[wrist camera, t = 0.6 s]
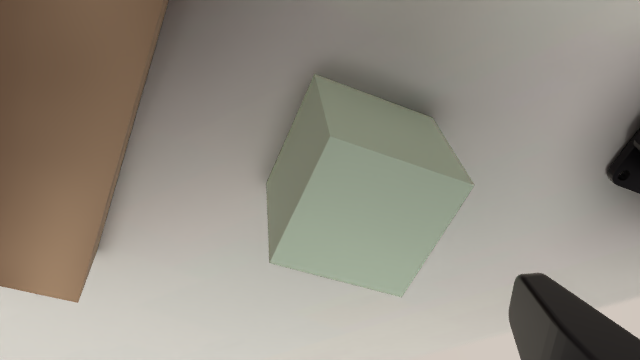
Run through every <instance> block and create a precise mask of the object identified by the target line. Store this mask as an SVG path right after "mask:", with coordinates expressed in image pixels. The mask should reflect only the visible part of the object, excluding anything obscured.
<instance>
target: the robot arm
mask: <svg viewBox="0 0 640 360" xmlns="http://www.w3.org/2000/svg"><path fill="white" fill-rule="evenodd" d="M622 171H624V172H623V173H622V174H621V175H619V174H620V173H621V172H622ZM607 175H608V178H609V179H610V180H611V181H612V182H613V183H614V184H616V185H618V186H621V187H623V188H626V189H629V190H631V191H634V192H637V193H639V194H640V129H639V130H638V131H637V133H636V134H635V135H634V137H633V138H632V139H631V141H630V142H629V143H628V144H627V146H626V147H625V148H624V150H623V151H622V152H621V153H620V155H619V156H618V157H617V159H616V160H615V161H614V162H613V164H612V165H611V166H610V168H609V170H608V173H607ZM509 322H510V326H511V329H512V332H513V335H514V339H515V342H516V345H517V348H518V351H519V355H520V358H521V360H640V339H638V338H637V337H635V336H634V335H632V334H631V333H630V332H628V331H627V330H625V329H624V328H622V327H621V326H619V325H618V324H616V323H615V322H613V321H612V320H611V319H609V318H608V317H606V316H605V315H603V314H602V313H600V312H599V311H597V310H596V309H594V308H593V307H592V306H590V305H589V304H587V303H586V302H584V301H583V300H581V299H580V298H578V297H577V296H576V295H574V294H573V293H571V292H570V291H568V290H567V289H565V288H564V287H562V286H561V285H559V284H558V283H557V282H555V281H554V280H552V279H551V278H549V277H548V276H546V275H544V274H542V273H531V274H521V275H518V276H517V277H516V279H515V282H514V287H513V292H512V297H511V301H510V306H509Z"/></svg>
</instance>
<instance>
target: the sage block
mask: <svg viewBox="0 0 640 360" xmlns="http://www.w3.org/2000/svg"><path fill="white" fill-rule="evenodd" d="M473 187H474V184H473V182H472V180H471V179H470V177H469V176H468V174H467V172H466V171H465V169H464V168H463V166H462V164H461V163H460V161H459V160H458V158H457V156H456V155H455V153H454V152H453V150H452V148H451V147H450V145H449V144H448V142H447V140H446V139H445V137H444V136H443V134H442V132H441V131H440V129H439V128H438V126H437V124H436V123H435V121H434V120H433V118H432V117H429V116H427V115H424V114H421V113H419V112H416V111H413V110H411V109H408V108H405V107H402V106H400V105H397V104H394V103H392V102H389V101H386V100H384V99H381V98H378V97H376V96H373V95H370V94H367V93H365V92H362V91H359V90H357V89H354V88H351V87H349V86H346V85H343V84H340V83H338V82H335V81H332V80H330V79H327V78H324V77H322V76H319V75H316V74H314V76H313V78H312V80H311V83H310V85H309V87H308V90H307V92H306V94H305V96H304V99H303V101H302V103H301V106H300V108H299V110H298V112H297V115H296V117H295V119H294V121H293V124H292V126H291V128H290V131H289V133H288V135H287V137H286V140H285V142H284V144H283V147H282V149H281V151H280V153H279V156H278V158H277V160H276V163H275V165H274V167H273V169H272V172H271V174H270V176H269V178H268V181H267V183H266V190H267V215H268V240H269V263H271V264H275V265H279V266H282V267H286V268H290V269H294V270H298V271H302V272H306V273H310V274H313V275H317V276H321V277H325V278H329V279H333V280H337V281H341V282H344V283H348V284H352V285H356V286H360V287H364V288H368V289H372V290H375V291H379V292H383V293H387V294H391V295H395V296H399V297H402V296H403V294H404V293H405V291H406V290H407V288H408V287H409V285H410V284H411V282H412V281H413V279H414V278H415V276H416V274H417V273H418V271H419V270H420V268H421V267H422V265H423V264H424V262H425V261H426V259H427V258H428V256H429V255H430V253H431V251H432V250H433V248H434V247H435V245H436V244H437V242H438V241H439V239H440V238H441V236H442V235H443V233H444V231H445V230H446V228H447V227H448V225H449V224H450V222H451V221H452V219H453V218H454V216H455V215H456V213H457V211H458V210H459V208H460V207H461V205H462V204H463V202H464V201H465V199H466V198H467V196H468V195H469V193H470V192H471V190H472V188H473Z"/></svg>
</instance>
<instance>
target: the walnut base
mask: <svg viewBox="0 0 640 360" xmlns="http://www.w3.org/2000/svg"><path fill="white" fill-rule="evenodd" d="M168 1H169V0H0V286H2V287H7V288H12V289H16V290H21V291H26V292H30V293H35V294H40V295H45V296H49V297H54V298H59V299H63V300H68V301H73V302H77V303H78V301H79V298H80V296H81V293H82V290H83V288H84V285H85V282H86V279H87V277H88V274H89V271H90V269H91V266H92V263H93V260H94V258H95V255H96V252H97V249H98V245H99V242H100V238H101V235H102V231H103V228H104V224H105V221H106V218H107V214H108V211H109V207H110V204H111V200H112V197H113V193H114V190H115V186H116V183H117V179H118V176H119V172H120V169H121V165H122V162H123V158H124V155H125V151H126V148H127V144H128V141H129V137H130V134H131V130H132V127H133V123H134V120H135V116H136V113H137V109H138V106H139V102H140V99H141V95H142V92H143V89H144V85H145V82H146V78H147V75H148V71H149V68H150V64H151V61H152V57H153V54H154V50H155V47H156V43H157V40H158V36H159V33H160V29H161V26H162V22H163V19H164V15H165V12H166V8H167V5H168Z"/></svg>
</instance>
